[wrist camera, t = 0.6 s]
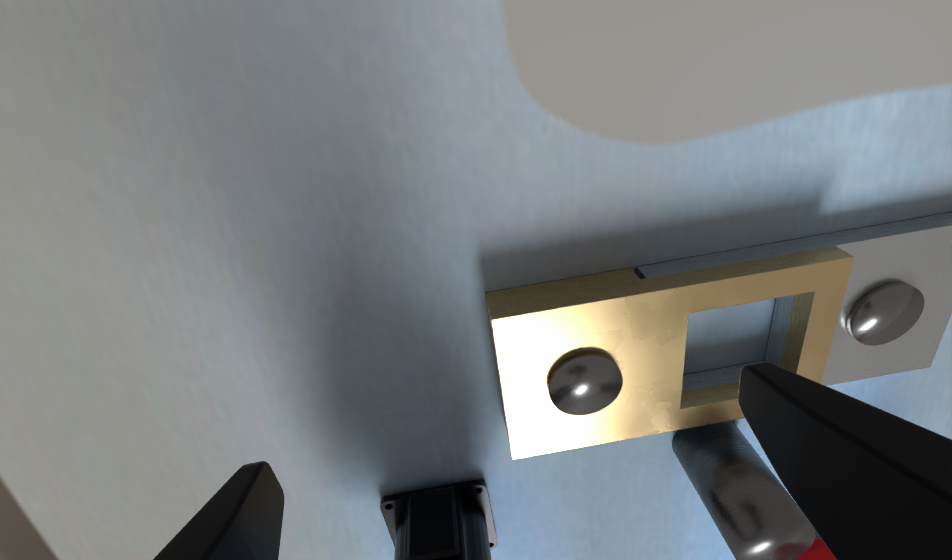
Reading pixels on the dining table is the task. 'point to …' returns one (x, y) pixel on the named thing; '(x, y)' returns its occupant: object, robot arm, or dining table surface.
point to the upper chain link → (643, 346)
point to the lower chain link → (859, 298)
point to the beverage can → (817, 551)
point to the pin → (742, 494)
